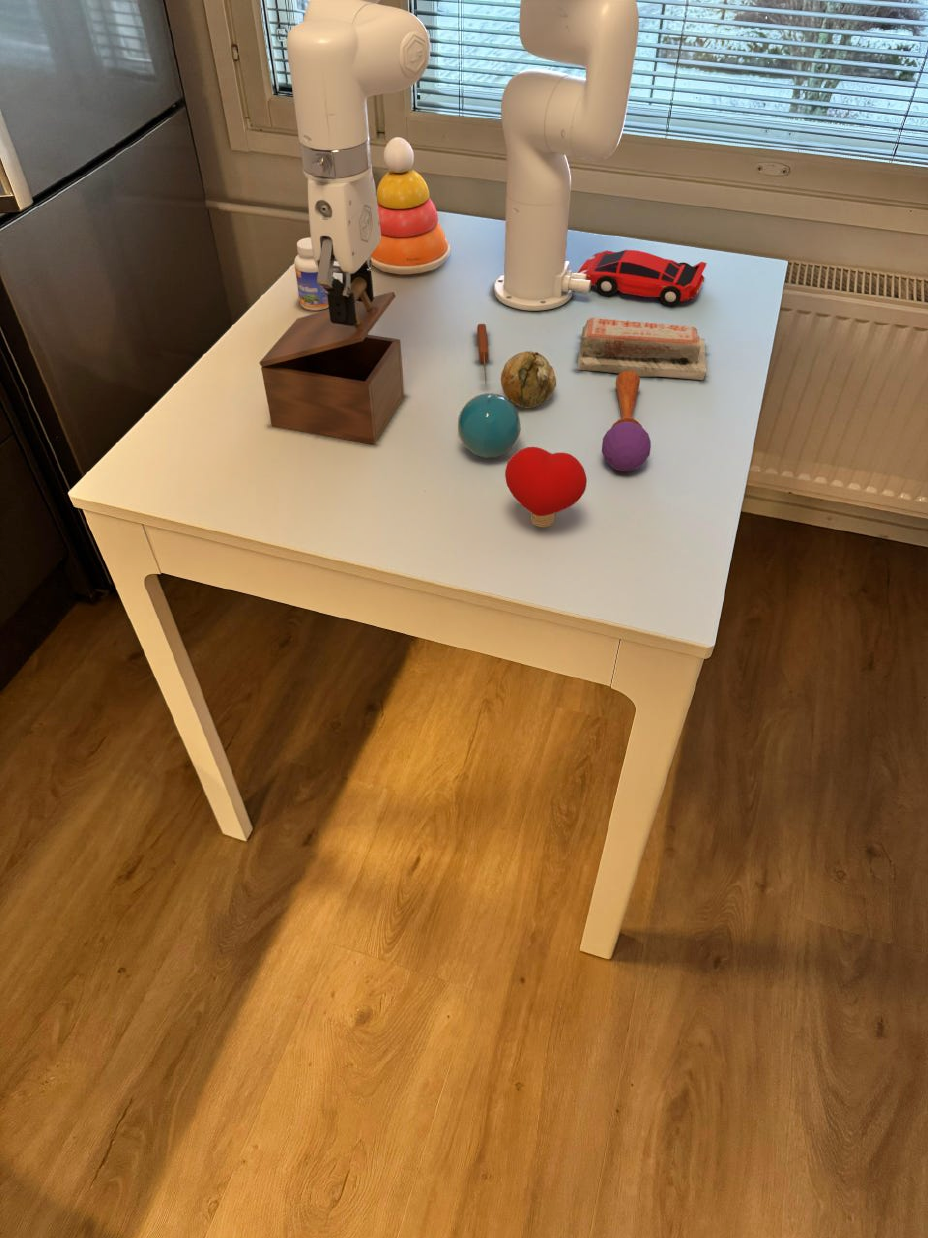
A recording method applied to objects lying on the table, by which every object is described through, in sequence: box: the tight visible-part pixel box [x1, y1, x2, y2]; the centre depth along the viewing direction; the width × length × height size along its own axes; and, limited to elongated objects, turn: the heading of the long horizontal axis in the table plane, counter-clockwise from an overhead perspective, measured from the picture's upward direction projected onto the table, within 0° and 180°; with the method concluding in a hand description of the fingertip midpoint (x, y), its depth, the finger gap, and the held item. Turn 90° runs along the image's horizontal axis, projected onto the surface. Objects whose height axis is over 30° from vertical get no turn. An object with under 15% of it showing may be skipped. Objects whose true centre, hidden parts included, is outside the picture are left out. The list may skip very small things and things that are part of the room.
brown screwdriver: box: [476, 323, 490, 383], centre depth 132 cm, size 16×1×2 cm, turn 1°
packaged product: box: [577, 317, 707, 381], centre depth 131 cm, size 18×5×10 cm
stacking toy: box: [370, 136, 451, 275], centre depth 147 cm, size 14×14×20 cm
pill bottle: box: [293, 236, 329, 312], centre depth 141 cm, size 5×5×10 cm
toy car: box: [577, 249, 708, 308], centre depth 146 cm, size 10×20×5 cm, turn 72°
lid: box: [258, 277, 396, 368], centre depth 114 cm, size 15×12×5 cm
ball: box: [457, 392, 522, 459], centre depth 114 cm, size 8×8×8 cm
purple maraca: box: [601, 371, 652, 472], centre depth 118 cm, size 6×6×20 cm
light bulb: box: [504, 446, 588, 528], centre depth 104 cm, size 9×7×10 cm
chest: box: [260, 333, 405, 446], centre depth 121 cm, size 15×12×9 cm
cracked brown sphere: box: [500, 350, 557, 409], centre depth 123 cm, size 8×8×8 cm
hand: (352, 310), depth 112 cm, fingers closed on lid, 5 cm apart
